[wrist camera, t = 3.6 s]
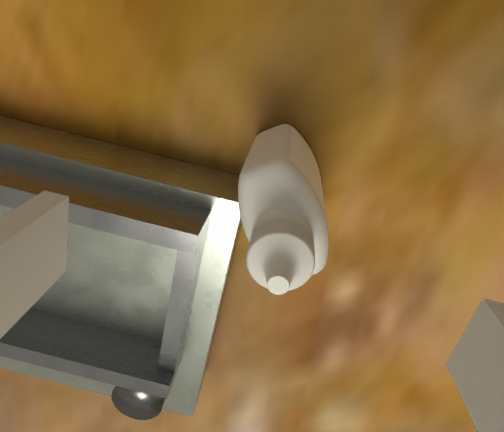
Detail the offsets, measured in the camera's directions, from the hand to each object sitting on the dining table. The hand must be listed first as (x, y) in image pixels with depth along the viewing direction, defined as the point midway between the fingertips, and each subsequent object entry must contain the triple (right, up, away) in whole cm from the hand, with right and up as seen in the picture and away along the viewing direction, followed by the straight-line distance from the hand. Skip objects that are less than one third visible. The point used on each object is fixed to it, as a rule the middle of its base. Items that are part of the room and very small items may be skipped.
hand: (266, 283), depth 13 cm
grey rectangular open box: (-13, 0, +15) cm, 19 cm away
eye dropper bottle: (+2, +5, +11) cm, 12 cm away
